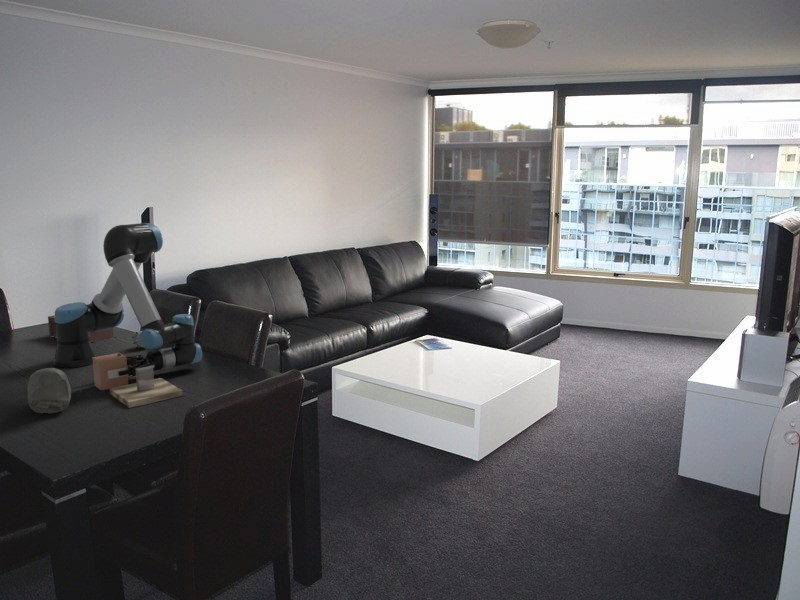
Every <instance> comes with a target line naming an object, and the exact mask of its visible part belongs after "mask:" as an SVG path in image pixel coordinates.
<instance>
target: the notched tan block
mask: <svg viewBox="0 0 800 600" xmlns="http://www.w3.org/2000/svg"><path fill="white" fill-rule="evenodd" d="M126 356H127V355H124V354H122V353H120V352H116V353H111V354H105V355H100V356H99V355H98V356H96V357H92V359H93V363H92V368H93V370H92V371H93V378H94V379H93V382H94V387H96V388H97V389H99V390H100V391H105V390H110V388H114V387H119V386H124V385H129V375H126V376H121V377H116V378H111V379H108V372H107V371H110V370H115V369H121V368H126V367H127V368H128V366H127V359H126Z"/></svg>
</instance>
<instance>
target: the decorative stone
mask: <svg viewBox="0 0 800 600" xmlns="http://www.w3.org/2000/svg"><path fill="white" fill-rule="evenodd" d="M71 397H72V388H71V384H70V382H69V379H68V377H67V374H66V373H65V371H63V370H61V369H58V368H55V367H47V368H46V367H45V368H41V369H39V370H38V369H37V370H35V372H33V373H32V374H31V375H30V377H29V380H28V383H27V403H28V405H29V408H30V409H31V410H32V411H33V412H35V413H38V414H43V413H48V414H56V413H59V412H60V413H61V412H62V411H64V410H66V409H67V408H68V406H69V405H70V402H71Z"/></svg>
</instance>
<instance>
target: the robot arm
mask: <svg viewBox="0 0 800 600" xmlns="http://www.w3.org/2000/svg"><path fill="white" fill-rule="evenodd" d="M163 243H164V240H163V235H162V232H161V230H160V229H159V228H158V226H157V225H155V224H154V223H151V222H147V223H146V222H139V223H132V224H118V225H116V226H113V227H112V228H110V229H109V230H108V231H107V233H106V235H105V236H104V240H103V245H102V246H103V255H104V258H105V261H106V262H107V265H108V266H109V267H110V268H112V269H111V271H110V272H109V273H110V274H109V275H108V277H107V279H106V282H105V283H104V285H103V288H102V289H101V291H100V292H99V293H97V294H95V295H94V296H93V298H92V300H91V302H90V303H89V304H86V303H85V302H78V301H77V302H72V303H65V304H62V305H59V307H56V309H55V310H54V315H55V319H54V321H55V325H56V336H57V339H56V342H57V343H56V344H57V345H56V351H55V354H54V358H53V365H54V366H55V365H56V366H55V367H57V366H58V367H57V368H62V367H66V368H67V369H68V368H69V367H71V368H78V367H84V366H88V365H89V366H90V365H93V359H92V357H97V355H96V353H95V350H94V349H93V346H92V343H91V344H90V338H89V333H93V332H98V331H102V330H107V329H111V328H113V329H114V328H116V327H118V326H120V325H121V324H122V322H123V320H124V317H125V314H124V312H125V308H124V306H123V303H122V302H123V299H124V298H125V296H126V298H127V299H128V303H129V305H130V306H131V309H132V310H133V312H134V315H135V317H136V319H137V321H138V324H139V326H140V327H141V328H140V329H142V332H141V333H140V337H139V338H140V343H141V345H142V346H143V347H144V348H145V349H146V350H150V351H147V353H146V356H142V354H138V355H125V356H126V359H127V367H126V368H121V369H115V370H110V371H107V372H108V379H111V378H116V377H121V376H126V375H128V376H132V377H136V369H138V368H143V367H148V366H151V367H153V372H156V371H160V370H165V369H167V370H170V369H171V368H175V367H180V366H186V365H192V364H196V363H199V362H201V360H202V358H203V351H202V347H201V345H200V343H197V342H196V341H195V323H194V322H195V321H194V317H193V315H191V314H188V313H181V314H175V315H174V316H172V318H171V319H172V320H171V321H172V322H170V323H165V324H164V321H163V320H162V318H161V315H160V313H159V311H158V309H157V307H156V305H155V303H154V301H153V300H154V299H153V298H152V297H151V294H150V292H149V290H148V288H147V286H146V283H145V281H144V280H143V277H142V275H141V273H140V271H139V269H140V267H141V265H142V264H144V263H145V264H146V263H147V262H148V261H149V259H150V257H151V255H152V254H153V253H154V254H155V253H157V252H159V251H161V250H162V247H163V245H164V244H163ZM171 344H173V346H172V347H167V348H166V347H165V348H162V347H164V346H168V345H171ZM158 349H159V350H158ZM66 368H65V369H66Z"/></svg>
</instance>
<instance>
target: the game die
mask: <svg viewBox="0 0 800 600" xmlns="http://www.w3.org/2000/svg"><path fill="white" fill-rule="evenodd" d="M142 331H143V330H142V328H140V331H135V333H136V334H135V335H134V336H131V338H132V339H133V343H132V344H133V345H135V346H136V349H137V348H141V349H143V350H145V349H146V348H144V347H143V346H142V345H141V343H140V338H139V337H140V333H141V332H142Z"/></svg>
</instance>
